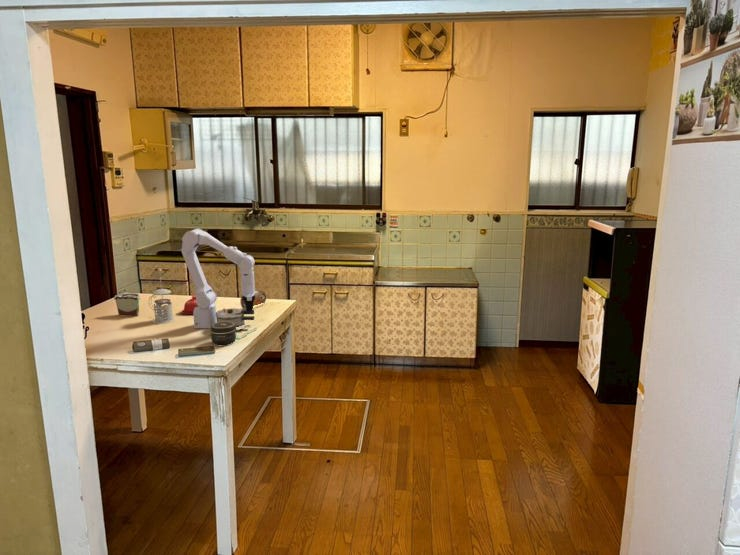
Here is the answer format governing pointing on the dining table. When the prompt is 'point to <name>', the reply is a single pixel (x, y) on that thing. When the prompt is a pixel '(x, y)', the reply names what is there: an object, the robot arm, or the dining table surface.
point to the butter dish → (190, 306)
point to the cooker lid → (232, 313)
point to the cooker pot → (237, 320)
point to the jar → (223, 333)
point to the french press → (162, 307)
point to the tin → (256, 299)
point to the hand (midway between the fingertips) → (249, 312)
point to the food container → (127, 304)
